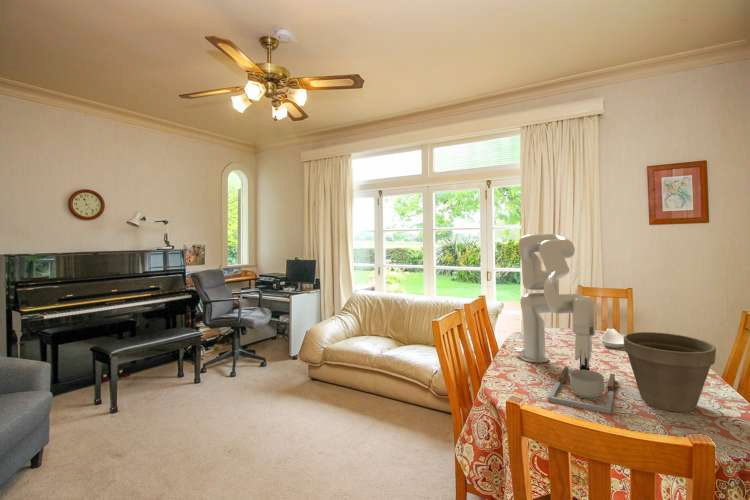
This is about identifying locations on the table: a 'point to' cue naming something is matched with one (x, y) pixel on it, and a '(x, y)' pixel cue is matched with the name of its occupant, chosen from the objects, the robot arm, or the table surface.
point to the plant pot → (669, 368)
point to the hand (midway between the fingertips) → (584, 377)
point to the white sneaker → (612, 339)
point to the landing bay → (581, 404)
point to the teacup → (586, 383)
